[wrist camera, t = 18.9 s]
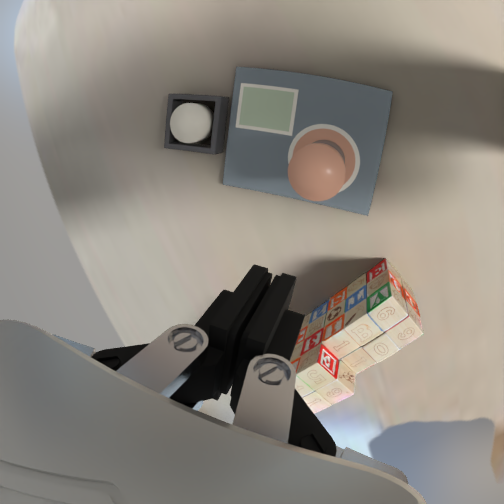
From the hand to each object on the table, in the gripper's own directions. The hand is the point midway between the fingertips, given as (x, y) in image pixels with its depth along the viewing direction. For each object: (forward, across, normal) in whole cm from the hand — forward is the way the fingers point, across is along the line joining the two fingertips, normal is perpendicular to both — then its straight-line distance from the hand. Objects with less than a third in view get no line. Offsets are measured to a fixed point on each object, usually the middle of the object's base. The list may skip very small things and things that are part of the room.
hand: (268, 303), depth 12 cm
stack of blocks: (+26, -5, +18) cm, 32 cm away
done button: (+24, +16, -3) cm, 29 cm away
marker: (+24, +1, -2) cm, 24 cm away
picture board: (+25, +4, -4) cm, 26 cm away
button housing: (+25, +16, -3) cm, 30 cm away
